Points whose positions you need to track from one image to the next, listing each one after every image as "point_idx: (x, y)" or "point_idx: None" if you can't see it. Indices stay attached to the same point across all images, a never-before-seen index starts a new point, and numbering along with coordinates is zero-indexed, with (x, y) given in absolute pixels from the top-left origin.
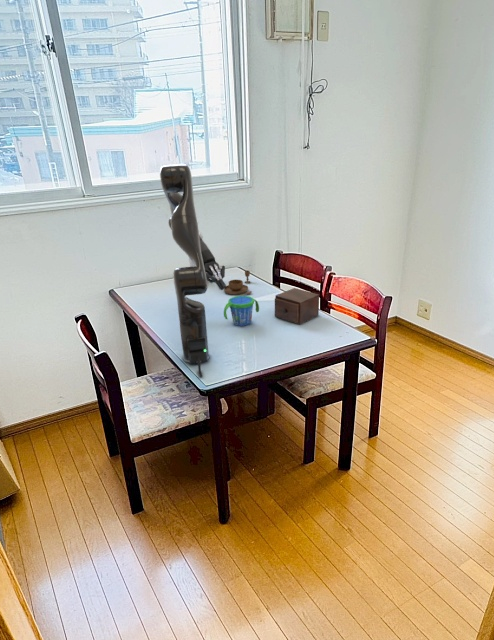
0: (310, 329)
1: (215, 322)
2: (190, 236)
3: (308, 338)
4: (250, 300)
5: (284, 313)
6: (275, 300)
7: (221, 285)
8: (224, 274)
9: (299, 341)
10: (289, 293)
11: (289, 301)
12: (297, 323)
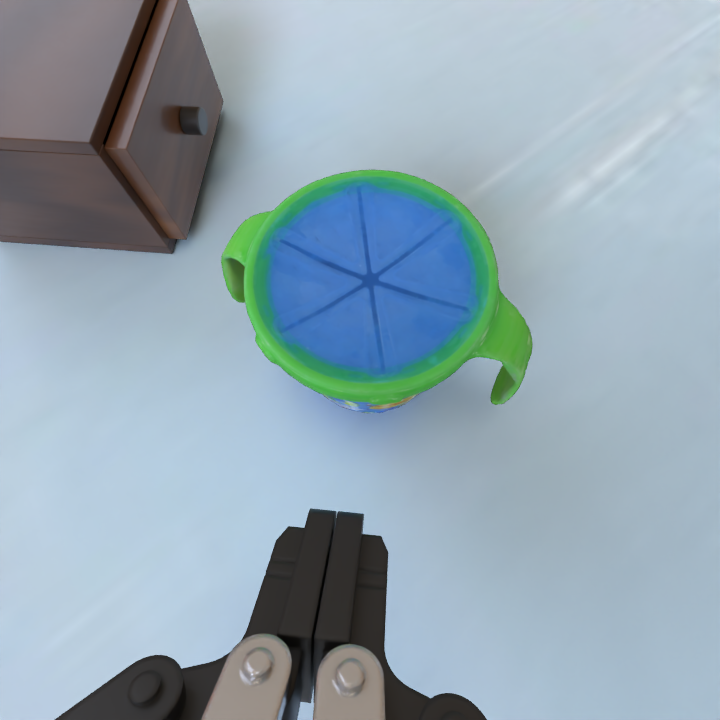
0: (242, 49)
1: (479, 526)
2: None
3: (339, 12)
4: (315, 214)
5: (190, 146)
6: (136, 152)
7: (359, 560)
8: (79, 707)
9: (390, 21)
10: (1, 91)
11: None
12: None
